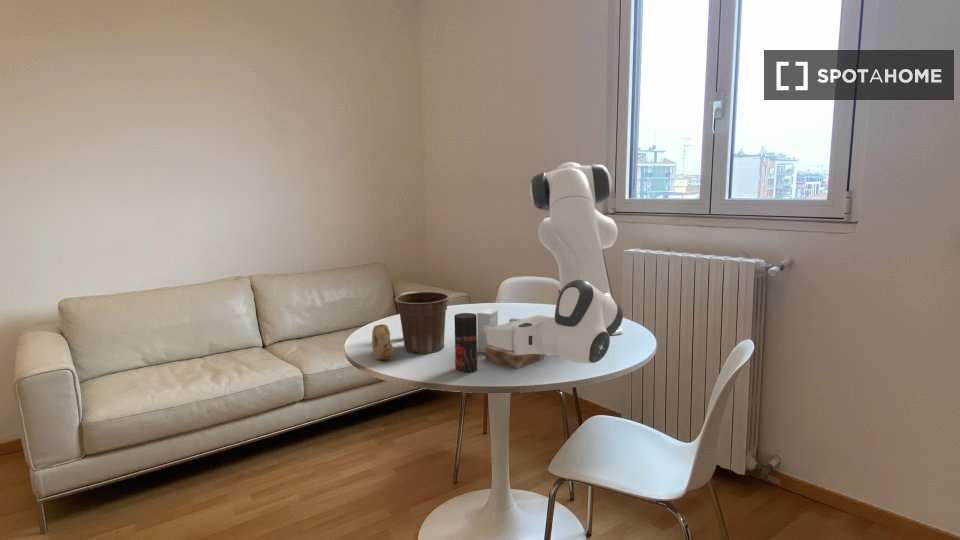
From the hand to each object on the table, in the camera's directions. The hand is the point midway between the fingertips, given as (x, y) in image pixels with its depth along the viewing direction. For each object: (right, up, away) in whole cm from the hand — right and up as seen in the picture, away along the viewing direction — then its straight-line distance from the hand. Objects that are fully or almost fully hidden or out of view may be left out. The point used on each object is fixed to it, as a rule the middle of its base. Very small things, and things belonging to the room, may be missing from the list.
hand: (498, 325), depth 136 cm
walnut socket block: (+5, -12, +19) cm, 23 cm away
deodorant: (-8, -13, +11) cm, 19 cm away
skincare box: (-2, -11, +28) cm, 30 cm away
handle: (-27, -9, +42) cm, 51 cm away
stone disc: (-33, -12, +21) cm, 41 cm away
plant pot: (-22, -10, +31) cm, 39 cm away
